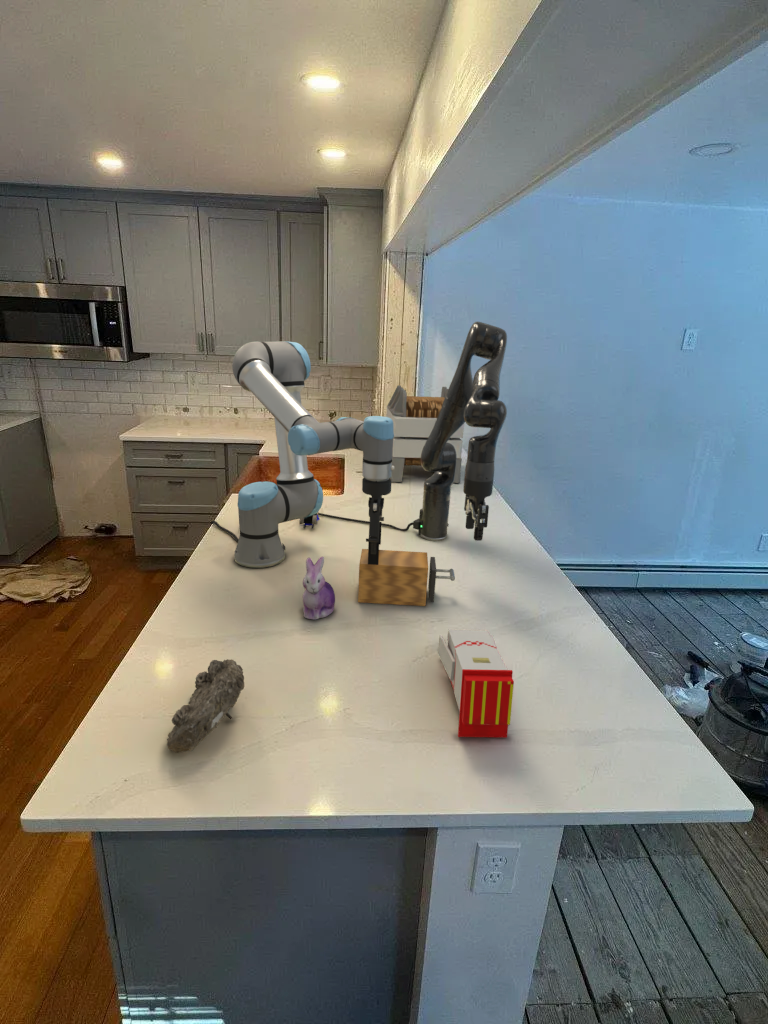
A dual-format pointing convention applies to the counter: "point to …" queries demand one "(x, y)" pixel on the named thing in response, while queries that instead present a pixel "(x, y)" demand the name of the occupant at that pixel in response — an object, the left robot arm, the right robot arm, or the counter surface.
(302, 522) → the figurine character
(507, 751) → the counter surface
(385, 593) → the zigzag wood grain block
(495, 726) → the toy
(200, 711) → the fossil
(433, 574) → the drawer
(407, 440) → the transformer
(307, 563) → the figurine
